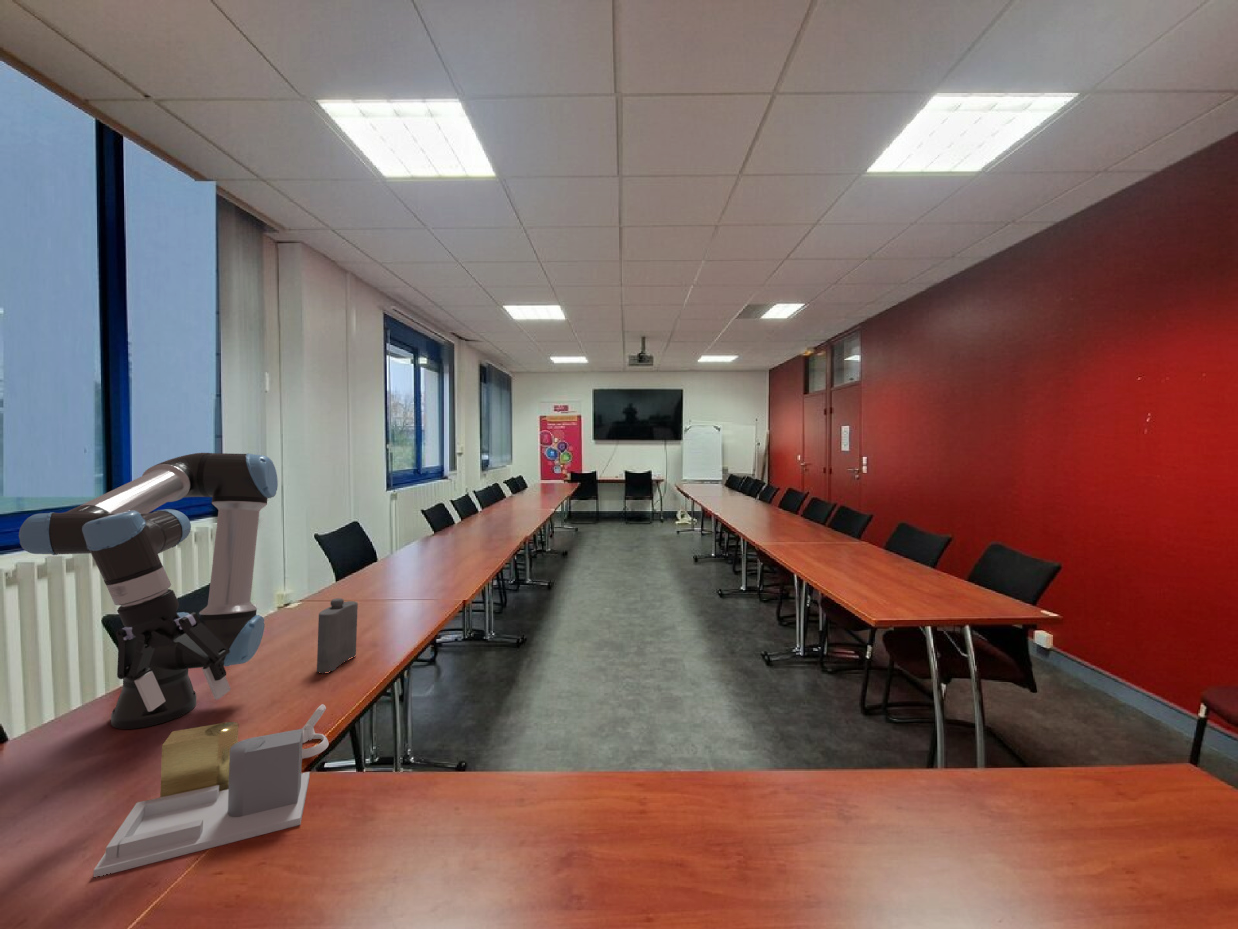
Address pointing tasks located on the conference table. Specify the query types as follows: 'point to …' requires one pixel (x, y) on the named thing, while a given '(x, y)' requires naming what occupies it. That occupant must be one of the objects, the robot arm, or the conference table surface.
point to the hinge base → (217, 807)
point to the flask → (336, 634)
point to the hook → (310, 734)
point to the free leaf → (197, 758)
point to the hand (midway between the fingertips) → (190, 700)
